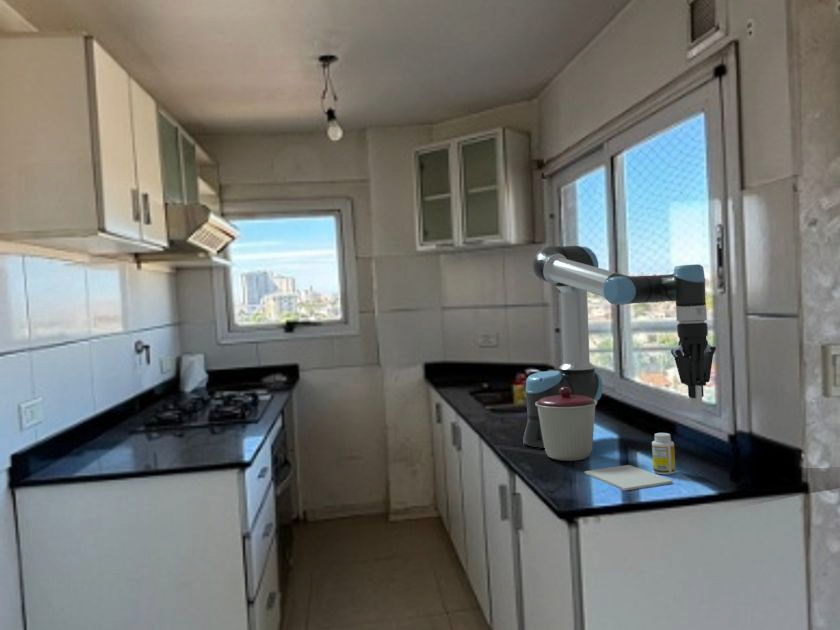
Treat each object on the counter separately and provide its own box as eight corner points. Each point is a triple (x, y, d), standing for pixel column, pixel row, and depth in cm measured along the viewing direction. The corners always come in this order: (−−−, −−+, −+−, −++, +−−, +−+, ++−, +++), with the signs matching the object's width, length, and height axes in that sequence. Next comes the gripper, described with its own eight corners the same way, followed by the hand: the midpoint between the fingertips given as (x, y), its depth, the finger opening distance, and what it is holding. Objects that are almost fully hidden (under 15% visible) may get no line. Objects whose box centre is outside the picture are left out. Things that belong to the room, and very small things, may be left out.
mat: (584, 473, 175) (584, 471, 175) (629, 467, 179) (629, 464, 179) (624, 490, 157) (624, 488, 157) (672, 483, 161) (672, 480, 161)
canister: (526, 455, 199) (523, 386, 198) (576, 447, 205) (573, 381, 205) (559, 467, 182) (555, 393, 181) (612, 459, 188) (609, 387, 188)
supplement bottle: (669, 469, 174) (667, 431, 174) (679, 474, 169) (677, 435, 169) (649, 470, 174) (647, 432, 174) (659, 476, 168) (657, 436, 168)
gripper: (681, 323, 168) (686, 414, 169) (722, 320, 172) (726, 409, 172) (662, 323, 176) (667, 410, 176) (701, 320, 179) (706, 405, 180)
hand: (696, 409), depth 174 cm, fingers closed
